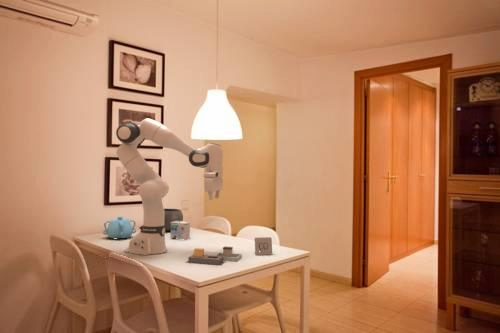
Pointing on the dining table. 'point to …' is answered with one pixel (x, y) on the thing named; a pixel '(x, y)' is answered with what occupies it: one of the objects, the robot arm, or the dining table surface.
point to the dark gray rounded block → (172, 217)
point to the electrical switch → (263, 246)
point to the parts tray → (229, 257)
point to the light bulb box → (180, 230)
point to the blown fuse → (227, 251)
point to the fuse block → (206, 260)
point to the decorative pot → (119, 228)
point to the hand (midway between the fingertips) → (214, 199)
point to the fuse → (198, 252)
